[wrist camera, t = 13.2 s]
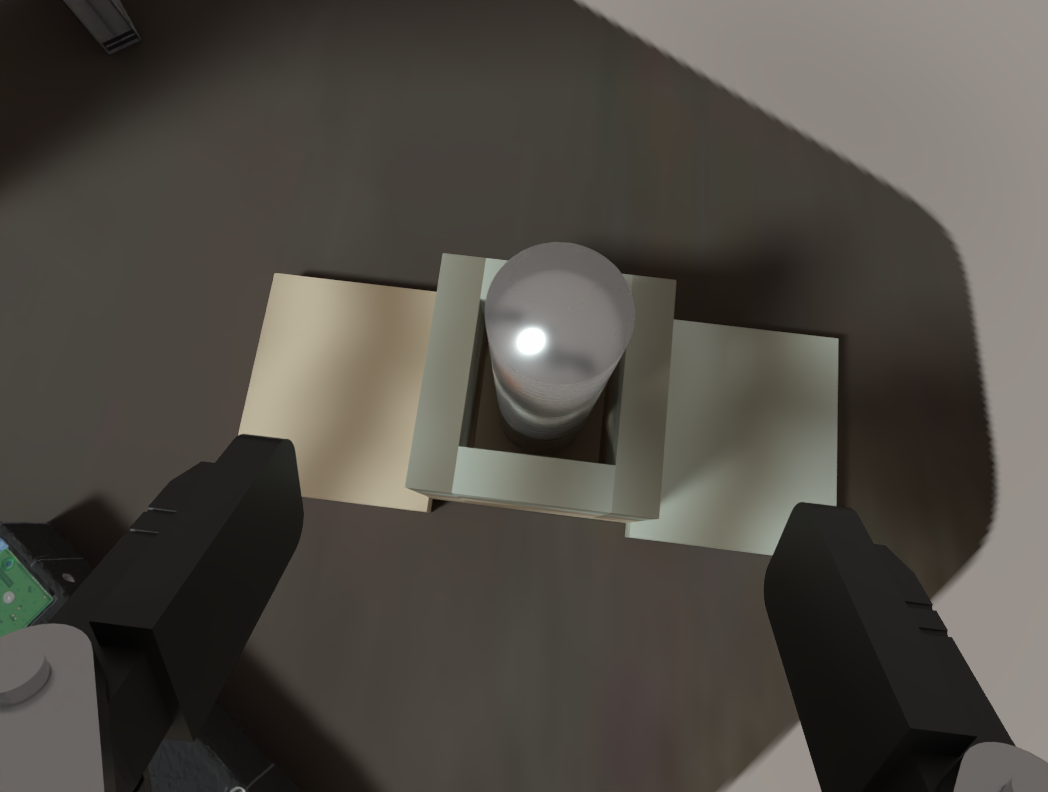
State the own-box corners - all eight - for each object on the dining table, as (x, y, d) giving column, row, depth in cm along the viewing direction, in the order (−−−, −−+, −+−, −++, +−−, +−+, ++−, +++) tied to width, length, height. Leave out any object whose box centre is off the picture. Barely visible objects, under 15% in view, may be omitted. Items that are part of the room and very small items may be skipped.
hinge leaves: (239, 488, 22) (150, 474, 17) (284, 283, 24) (217, 211, 19) (822, 561, 22) (918, 570, 17) (825, 346, 24) (914, 291, 18)
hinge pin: (494, 448, 22) (474, 373, 12) (505, 366, 22) (495, 234, 13) (579, 459, 22) (627, 392, 12) (588, 376, 22) (641, 251, 13)
